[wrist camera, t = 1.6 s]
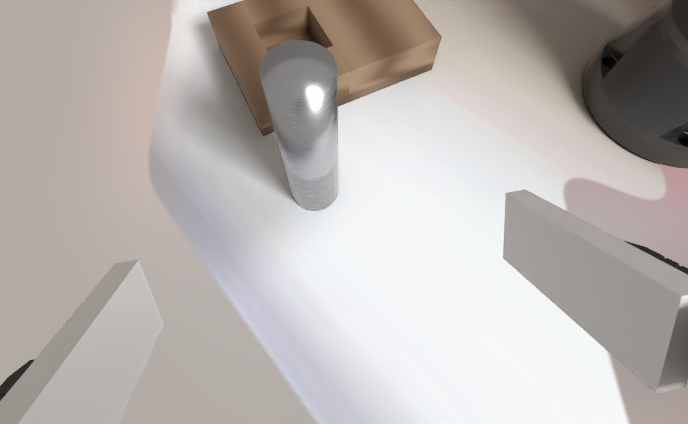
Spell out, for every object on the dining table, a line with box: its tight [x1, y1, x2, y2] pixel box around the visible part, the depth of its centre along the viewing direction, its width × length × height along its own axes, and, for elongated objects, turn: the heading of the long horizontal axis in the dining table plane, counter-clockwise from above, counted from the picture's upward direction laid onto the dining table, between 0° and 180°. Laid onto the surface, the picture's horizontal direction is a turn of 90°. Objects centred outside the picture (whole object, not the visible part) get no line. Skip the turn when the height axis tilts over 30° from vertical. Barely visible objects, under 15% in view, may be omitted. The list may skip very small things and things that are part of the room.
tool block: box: [207, 0, 441, 136], centre depth 36 cm, size 18×12×4 cm, turn 116°
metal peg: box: [259, 40, 338, 211], centre depth 26 cm, size 4×4×14 cm
